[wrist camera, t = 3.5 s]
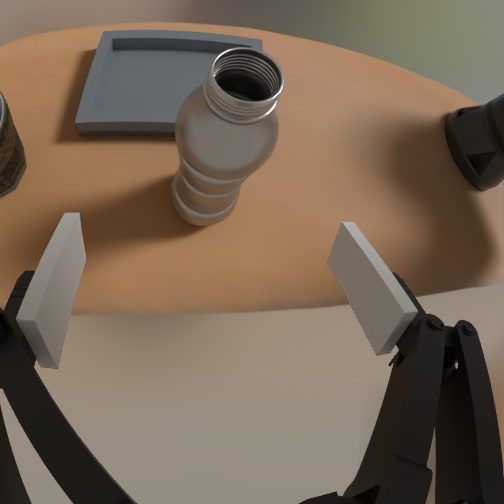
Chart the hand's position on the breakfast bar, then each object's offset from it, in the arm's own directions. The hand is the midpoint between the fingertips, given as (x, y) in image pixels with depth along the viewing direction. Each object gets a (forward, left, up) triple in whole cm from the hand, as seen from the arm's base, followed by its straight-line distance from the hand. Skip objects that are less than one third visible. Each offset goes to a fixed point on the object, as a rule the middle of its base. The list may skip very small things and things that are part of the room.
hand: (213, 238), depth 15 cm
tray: (+3, -21, -16) cm, 27 cm away
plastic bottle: (-1, -7, -17) cm, 18 cm away
